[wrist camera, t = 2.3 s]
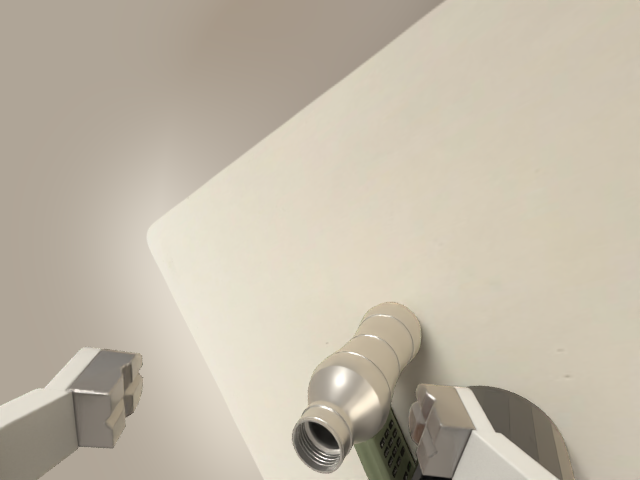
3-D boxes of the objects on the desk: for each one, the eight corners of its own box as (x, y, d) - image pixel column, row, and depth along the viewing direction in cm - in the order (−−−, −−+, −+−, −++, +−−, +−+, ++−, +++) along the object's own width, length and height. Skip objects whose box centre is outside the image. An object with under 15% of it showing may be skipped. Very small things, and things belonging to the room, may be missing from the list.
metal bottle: (369, 349, 42) (277, 479, 25) (366, 293, 41) (268, 387, 23) (426, 357, 39) (368, 511, 22) (424, 298, 38) (362, 408, 21)
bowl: (514, 366, 36) (519, 423, 28) (599, 487, 34) (630, 583, 26) (404, 409, 42) (382, 466, 34) (473, 513, 40) (467, 599, 32)
